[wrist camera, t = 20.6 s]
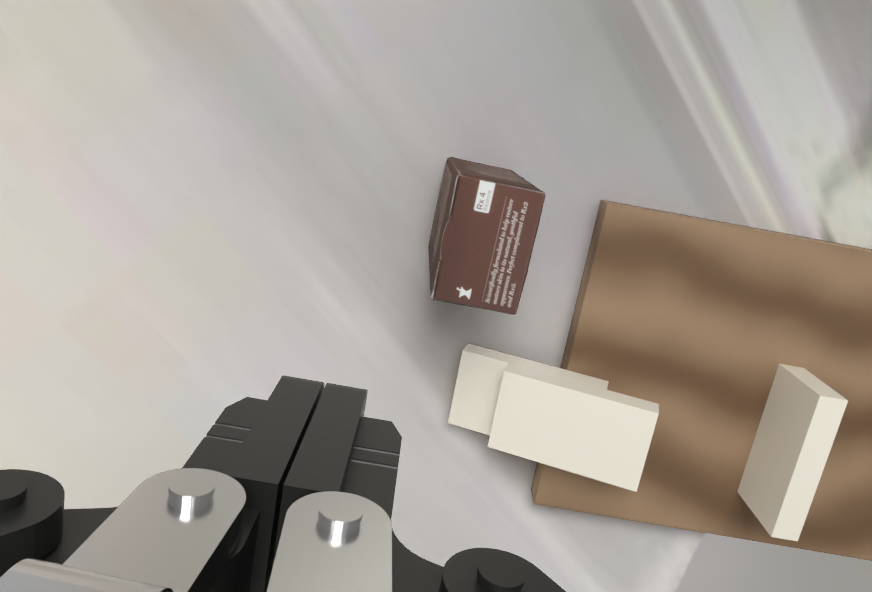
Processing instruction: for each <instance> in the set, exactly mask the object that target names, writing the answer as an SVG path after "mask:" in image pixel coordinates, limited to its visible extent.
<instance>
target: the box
mask: <svg viewBox="0 0 872 592" xmlns="http://www.w3.org/2000/svg"><path fill="white" fill-rule="evenodd" d="M544 199H545V193H544V192H543V191H541V190H539V189H538V188H536V187H535V186H534V185H532V184H531V183H529V182H528V181H526V180H525V179H524V178H522V177H520V176H519V175H518V174H516V173H515V172H513V171H512V170H508V169H504V168H499V167H494V166H489V165H485V164H480V163H475V162H471V161H466V160H462V159H457V158H453V157H450V158H448V159H447V162H446V166H445V170H444V175H443V179H442V184H441V188H440V193H439V197H438V202H437V207H436V212H435V216H434V221H433V226H432V231H431V236H430V242H429V268H430V289H431V299H432V300H438V301H443V302H448V303H454V304H460V305H465V306H471V307H477V308H482V309H487V310H492V311H497V312H502V313H507V314H516V312H517V308H518V304H519V301H520V297H521V293H522V290H523V286H524V283H525V279H526V275H527V271H528V266H529V262H530V258H531V253H532V249H533V245H534V241H535V237H536V233H537V230H538V225H539V221H540V216H541V212H542V207H543V203H544Z"/></svg>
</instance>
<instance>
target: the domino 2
mask: <svg viewBox="0 0 872 592" xmlns="http://www.w3.org/2000/svg"><path fill="white" fill-rule="evenodd" d="M658 415H659V404H658V403H654V402H650V401H646V400H643V399H639V398H635V397H632V396H628V395H624V394H621V393H617V392H613V391H610V390H606V389H602V388H599V387H595V386H591V385H588V384H584V383H580V382H577V381H573V380H569V379H566V378H562V377H558V376H555V375H551V374H547V373H544V372H540V371H536V370H533V369H529V368H525V367H522V366H518V365H514V364H511V363H509V364H508V366H507V367H506V369H505V370H504V373H503V378H502V382H501V387H500V392H499V396H498V401H497V405H496V410H495V414H494V419H493V424H492V428H491V433H490V437H489V442H488V447H490V448H493V449H496V450H500V451H503V452H506V453H510V454H513V455H516V456H519V457H523V458H526V459H529V460H533V461H536V462H539V463H542V464H546V465H549V466H552V467H556V468H559V469H562V470H566V471H569V472H572V473H575V474H579V475H582V476H585V477H589V478H592V479H595V480H598V481H602V482H605V483H608V484H612V485H615V486H618V487H622V488H625V489H628V490H631V491H635V492H637V489H638V485H639V482H640V478H641V475H642V471H643V468H644V464H645V461H646V457H647V454H648V450H649V446H650V443H651V439H652V436H653V432H654V429H655V425H656V422H657V418H658Z"/></svg>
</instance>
